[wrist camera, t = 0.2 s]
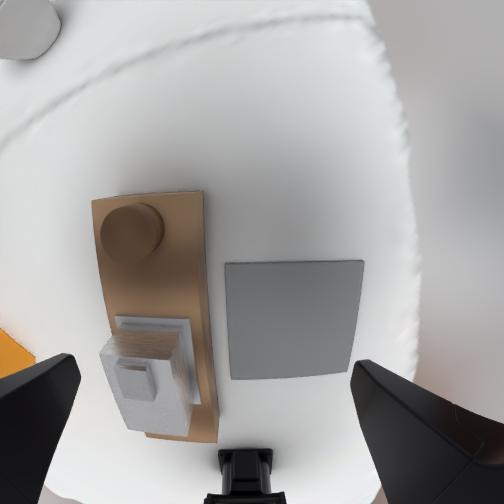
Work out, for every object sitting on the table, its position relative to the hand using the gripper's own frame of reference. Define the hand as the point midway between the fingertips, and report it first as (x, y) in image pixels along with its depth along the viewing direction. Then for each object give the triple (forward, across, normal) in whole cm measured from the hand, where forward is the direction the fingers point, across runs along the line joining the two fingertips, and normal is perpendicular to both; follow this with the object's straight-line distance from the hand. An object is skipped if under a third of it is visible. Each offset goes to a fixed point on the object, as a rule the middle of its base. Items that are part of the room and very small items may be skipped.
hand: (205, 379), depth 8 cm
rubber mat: (+14, -5, +6) cm, 16 cm away
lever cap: (+10, +5, +7) cm, 13 cm away
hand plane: (+14, +5, +6) cm, 16 cm away
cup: (+14, +19, -23) cm, 33 cm away
